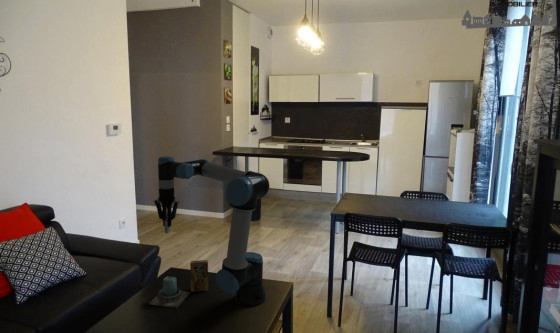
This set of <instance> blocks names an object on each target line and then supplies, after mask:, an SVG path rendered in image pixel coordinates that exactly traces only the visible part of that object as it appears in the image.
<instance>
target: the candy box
mask: <svg viewBox="0 0 560 333" xmlns="http://www.w3.org/2000/svg"><path fill="white" fill-rule="evenodd" d="M208 291H209V259H204V260H203V259H202V260H199V259H198V260H190V293H193V292H208Z"/></svg>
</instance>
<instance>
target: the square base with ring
mask: <svg viewBox="0 0 560 333" xmlns="http://www.w3.org/2000/svg"><path fill="white" fill-rule="evenodd" d="M190 293H191V291H183V290H182V288H180V287H178V286H177V295H174V296H170V297H166V296H163V288H162V289H159V291H158V292H157V295H156V296H155V297H153V299H152V300H151V301H149V303H148V304H149V305H150V306H151V305H152V306H159V307H166V308H174V309H177V308H179V306H181V304H182V303H183V302H184V301H185V298H187V297H188V296H189V295H190Z"/></svg>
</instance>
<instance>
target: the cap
mask: <svg viewBox="0 0 560 333" xmlns="http://www.w3.org/2000/svg"><path fill="white" fill-rule="evenodd" d="M177 280H178V279H177V277H174V276H166V277H164V278H163V279H162V289H163V296H166V297H170V296H174V295H177V287H178V285H177Z"/></svg>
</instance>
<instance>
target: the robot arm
mask: <svg viewBox="0 0 560 333" xmlns="http://www.w3.org/2000/svg"><path fill="white" fill-rule="evenodd" d="M157 166H158V167H157V171H158V174H157V175H158V197H157V199H155V200H153V203H154V204H155V206H156V211H157V214H158V219H160V220H162V223H163V224H162V226H163V227H164V234H170V233H171V227H172V221H173V220H175V218H176V215H177V210H178V206H179V204H180V201H179V200H177V199H176V197H175V178H177V179H181V180H189V179H191V178H192V177H194V176H201V177H205V178H208V179H212V180H215V181H219V182H223V183H226V184H227V186H226V191H225V192H226V193H225V194H226V195H225V196H226V198H227V201H228V203H229V206H230V207H231V208H232V214H231V221H230V228H229V235H228V236H229V237H228V243H227V252H226V257H224V258H223V260H222V262H221V263H222V264H221V269H219V270H218V271H216V274H215V281H216V285H217V286H218V287H219V289H220V290H221V291H222V292H223V293H225V294H233V293H235V294H234V300H235V302H236V303H237V304H238V305H241V306H246V307H254V306H259V305H261V304H263V303H264V302H265V301H266V300H267V299H266V298H267V296H266V295H267V294H266V291H265V288H264V285H263V274H264V272H263V269H264V266H263V265H264V262H263V261H264V258H263V256H262V255H261V254H260V253H257V252H253V251H248V245H249V237H250V229H251V222H252V215H253V211H255V210H256V209H257V205H258V200H260V199H262V198H264V197H265V196H266V195H267V194H268V193H269V191H270V182H269V179H268V178H267V176H266V175H264V174H262V173H260V172H257V171H253V170H248V171H243V170H240V169H236V168H231V167H228V166H224V165H220V164H216V163H213V162H210V161H209V160H208V159H206V158H205V159H204V158H203V159H198V160H197V159H195V160H189V161H183V162H179V161H178V162H177V161H175V159H174V157H173V156H165V155H164V156H159V158H158V159H157Z"/></svg>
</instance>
